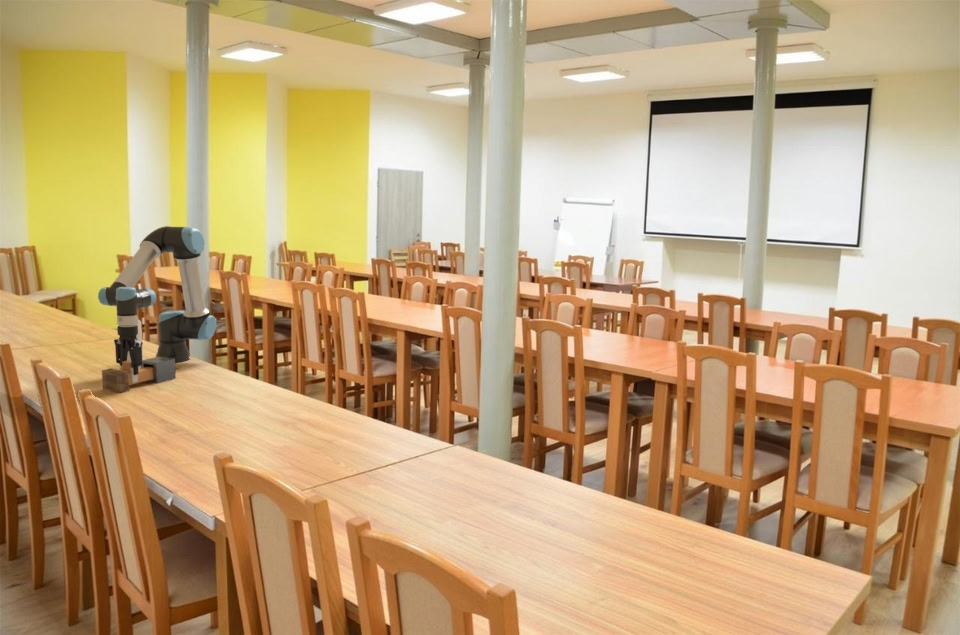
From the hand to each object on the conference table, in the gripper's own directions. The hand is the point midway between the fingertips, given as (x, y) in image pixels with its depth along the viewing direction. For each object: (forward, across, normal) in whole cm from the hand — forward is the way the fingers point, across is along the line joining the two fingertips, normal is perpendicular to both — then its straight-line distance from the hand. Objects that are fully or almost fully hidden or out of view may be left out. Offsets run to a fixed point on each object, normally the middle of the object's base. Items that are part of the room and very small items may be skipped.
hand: (130, 381), depth 308 cm
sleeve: (+2, 0, +15) cm, 15 cm away
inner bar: (+1, 0, +2) cm, 3 cm away
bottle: (+2, -16, +16) cm, 22 cm away
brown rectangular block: (+2, 0, -7) cm, 7 cm away
